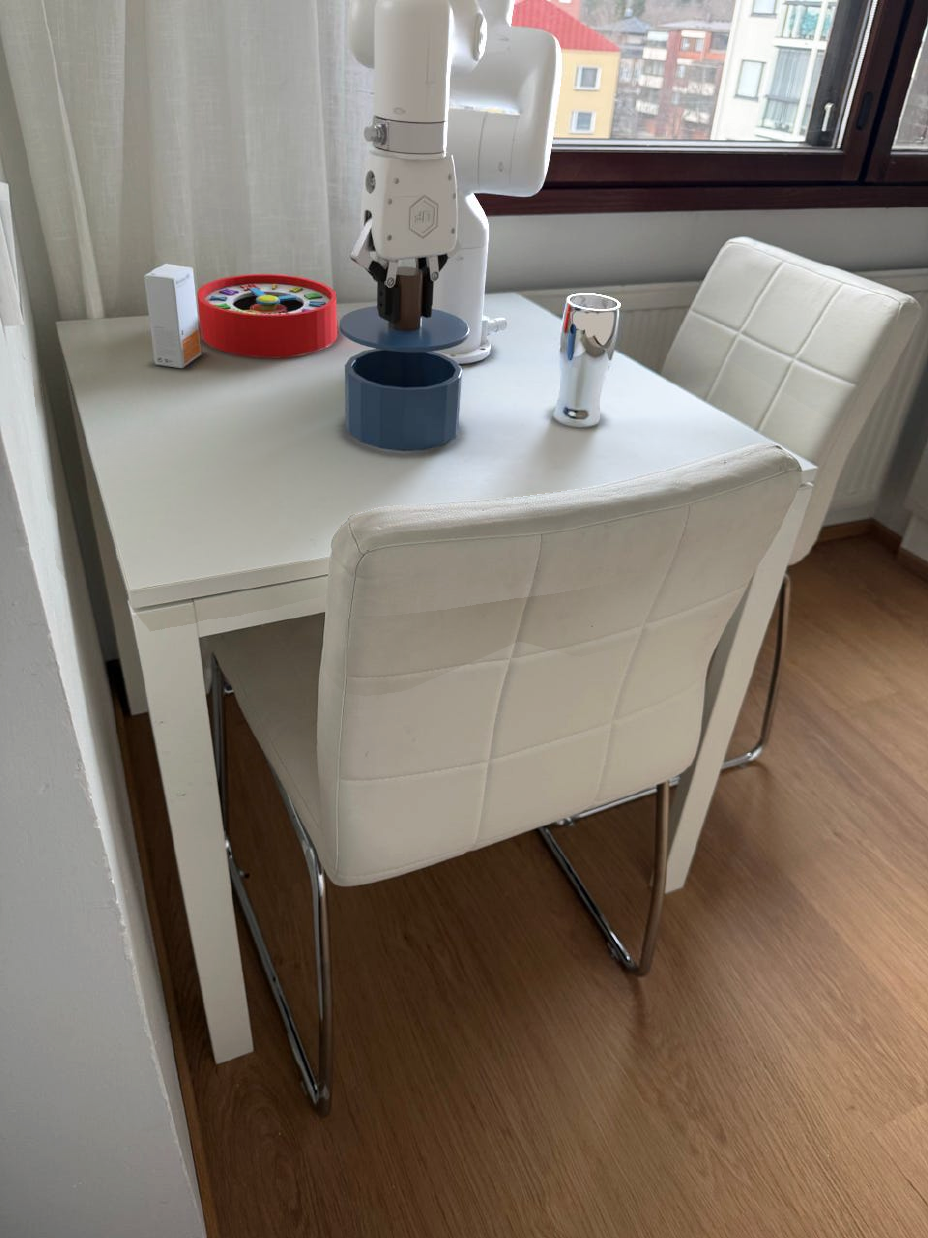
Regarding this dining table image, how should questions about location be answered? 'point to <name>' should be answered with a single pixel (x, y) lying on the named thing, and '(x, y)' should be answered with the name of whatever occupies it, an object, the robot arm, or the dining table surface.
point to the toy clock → (267, 315)
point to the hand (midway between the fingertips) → (405, 315)
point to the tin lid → (405, 322)
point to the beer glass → (585, 356)
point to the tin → (402, 399)
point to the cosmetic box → (173, 315)
